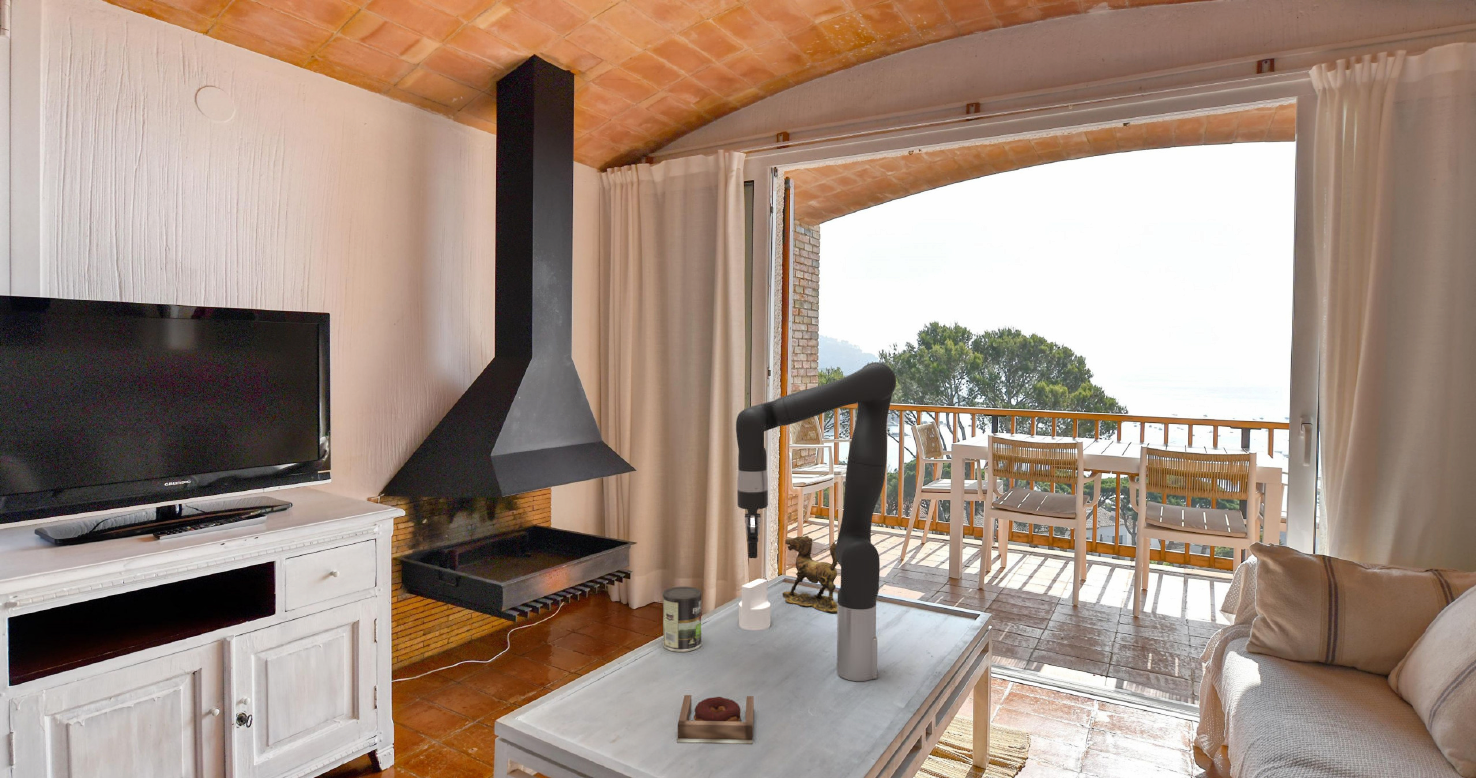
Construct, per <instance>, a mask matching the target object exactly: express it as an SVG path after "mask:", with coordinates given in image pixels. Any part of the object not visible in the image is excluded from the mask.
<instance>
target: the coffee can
mask: <svg viewBox="0 0 1476 778" xmlns="http://www.w3.org/2000/svg"><path fill="white" fill-rule="evenodd" d="M702 595H703V592H702V590H701V589H699V588H696V587H692V586H674V587H670V588H667V589H665V590H663V592H662V602H663V605H662V606H663V607H662V610H663V611H662V612H663V615H662V616H663V620H662V621H663V622H662V623H663V624H662V626H663V632H662V633H663V642H662V643H663V645H662V646H663V648H664V649H665V650H668V651H671V652H676V653H687V652H692V651H695V650H698V649H699V648H700V647H702Z"/></svg>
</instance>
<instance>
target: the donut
mask: <svg viewBox="0 0 1476 778" xmlns="http://www.w3.org/2000/svg"><path fill="white" fill-rule="evenodd" d="M693 719H694V720H693V721H732V722H741V707H740V705H739V704H738V703H737V702H736V701H734V700H733V699H729V698H725V697H722V696H715V697H714V696H713V697H707V698H705V699H702V700H701V701H699V702H698V703H697V704H696V705H695V708H694V715H693Z"/></svg>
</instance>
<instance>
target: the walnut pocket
mask: <svg viewBox="0 0 1476 778" xmlns="http://www.w3.org/2000/svg"><path fill="white" fill-rule="evenodd" d="M754 701H755V699H754V696H752V695H749V696H748V695H747V696H746V701H745V720H744V721H739V722H732V721H695V720H690V717H691V712H692V695H691V694H685V695H684V697H683V701H682V705H681V707H680V714H679V718H678V721H677V740H676V743H677V744H682V743H683V744H684V743H685V744H686V743H687V744H689V743H690V744H722V745H723V744H727V745H728V744H729V745H731V744H732V745H734V744H735V745H753V737H754V710H755V709H754V706H755V705H754Z"/></svg>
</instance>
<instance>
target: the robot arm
mask: <svg viewBox="0 0 1476 778" xmlns="http://www.w3.org/2000/svg"><path fill="white" fill-rule="evenodd" d="M896 386H897V378H896V375H895V372H894V371H893V368H891V367H890V366H889V365H887V364H886V363H883V362H870V363H867V364H865V365H864V366H863V367H861V369H858V370H856V371H855V372H853V373H851V374H849V375H847V376H845V377H843V378H840V379H837V380H835V381H832V382H828V383H825V384H822V385H817V386H815V387H811V388H806V389H803V390H799V391H795V392H793V393H789V394H787V395H783V396H781V397H778V398H776V399H774V400H771V401H767V402H763V403H760V404H757V405H752V406H749V407H747V408H745V409H743V410H741V411H740V412H739V413H738V414H737V417H736V421H735V432H736V441H737V447H738V448H737V449H738V454H737V455H738V457H737V463H738V465H737V469H738V471H737V480H736V481H737V483H736V485H737V491H736V492H737V494H736V497H737V506H738V508H739V509H742V510H747V512H746V513H744V524H745V535H747V538H746V539H747V540H746V542H747V543H748V545H747V546H748V549H747V550H748V558H749V559H757V558H758V544H759V543H758V542H759V536H760V531H761V529H760V528H761V527H760V526H761V525H760V524H761V517H762V515H761V514H762V513H758V510H763V509H767V508H768V505H769V484H768V483H769V481H768V480H769V479H768V471H767V470H768V469H767V467H768V466H767V465H768V463H767V462H768V461H767V460H768V458H767V450H766V448H765V432H767V431H769V430H770V431H771V430H772V429H773V430H774V429H776V428H778V427H784V426H790V425H794V424H797V423H800V422H802V421H805V420H809V419H812V418H814V417H816V416H819V415H822V414H825V413H827V412H830V411H832V410H835V409H838V408H842V407H846V406H849V405H853V404H854V405H855V404H857V413H856V419H855V426H854V428H853V433H852V436H851V441H850V444H849V450H848V454H847V461H846V462H847V463H846V471H845V481H844V483H845V484H844V493H843V510H842V512H843V513H842V518H841V524H840V526H839V527H840V528H839V531H838V536H837V541H836V543H835V544H836V550H835V554H836V559H837V561H838V562H837V564H839V566H840V586H839V587H840V588H839V589H838V591H837V599H836V600H837V601H836V604H837V614H836V615H837V616H836V617H837V619H836V620H837V621H836V626H837V627H836V631H837V632H836V641H837V642H836V673H837V675H838V676H839V677H841V678H842V679H845V680H848V681H852V682H865V681H870V680H875V679H878V637H877V597H878V595H879V589H880V574H881V573H880V571H881V570H880V568H881V566H880V564H881V563H880V555H879V551H878V550H877V548H876V546H875V545H873V543H872V537H871V536H872V521H873V516H874V513H875V512H874V511H875V509H876V505H877V503H878V501H879V498H880V497H881V494H882V490H883V486H884V482H885V478H886V469H887V461H888V459H887V457H888V430H887V428H888V416H889V410H890V405H891V403H892V402H891V401H892V397H893V393H894V391H895V389H896Z"/></svg>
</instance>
